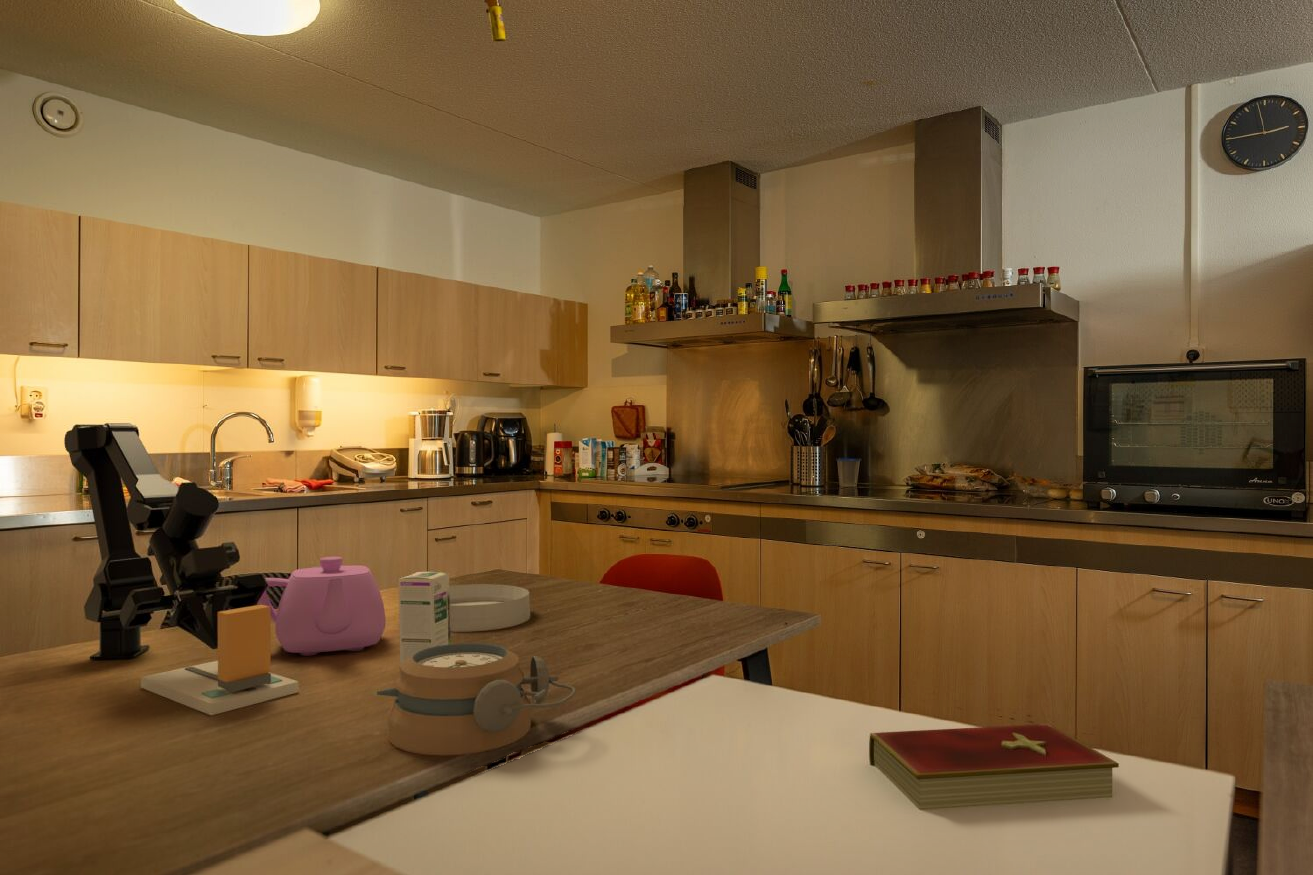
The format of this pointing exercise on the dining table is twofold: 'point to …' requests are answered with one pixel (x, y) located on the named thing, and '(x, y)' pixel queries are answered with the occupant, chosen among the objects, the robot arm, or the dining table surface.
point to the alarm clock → (465, 699)
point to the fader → (244, 647)
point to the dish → (487, 607)
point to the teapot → (327, 608)
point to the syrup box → (423, 612)
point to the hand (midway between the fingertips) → (217, 647)
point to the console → (213, 689)
